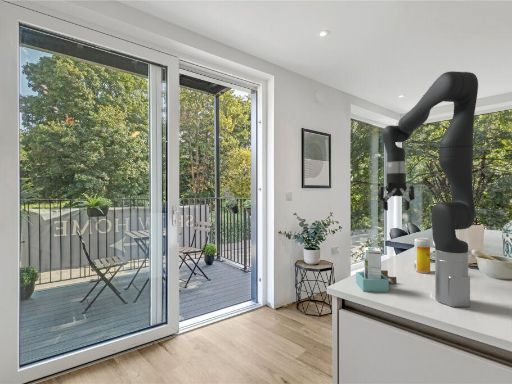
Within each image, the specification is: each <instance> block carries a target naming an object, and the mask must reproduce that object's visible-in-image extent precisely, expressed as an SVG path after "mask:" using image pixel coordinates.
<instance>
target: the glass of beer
mask: <svg viewBox="0 0 512 384" xmlns="http://www.w3.org/2000/svg"><path fill="white" fill-rule="evenodd" d="M414 238H415V239H414V243H413V245H414V251H413V252H414V253H413V254H414V255H413V257H414V259H413V260H414V264H413V265H414V271H415V272H416V273H419V274H426V275H427V274H429V273H430V272H431V241H430V238H429V237H421V236H419V237H418V236H417V237H414Z"/></svg>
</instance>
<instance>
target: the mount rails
mask: <svg viewBox="0 0 512 384" xmlns="http://www.w3.org/2000/svg"><path fill="white" fill-rule="evenodd" d="M388 272H389V270H388V269H386V270H384V269H383V270H382V269H381V274H383V275H384V276H385V277H386V278H388V279H389V284H397V277H396V276H389V273H388Z"/></svg>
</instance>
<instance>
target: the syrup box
mask: <svg viewBox="0 0 512 384" xmlns="http://www.w3.org/2000/svg"><path fill="white" fill-rule="evenodd" d="M363 262H364V270H363V272H364V279H381V270H382V250H381V248H379V247H374V246H373V247H371V246H367V247H364V261H363Z"/></svg>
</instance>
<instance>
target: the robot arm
mask: <svg viewBox="0 0 512 384" xmlns="http://www.w3.org/2000/svg"><path fill="white" fill-rule="evenodd" d="M478 91H479V80H478V77H477V76H476V74H475V73H473V72H470V71H452V70H451V71H446V72H443V73H442V74H440V76H438V78H436V80H434V81H433V83H432V84H431V86H429V88H428V89H427V91H426V92H425V93H424V94H423V95H422V97H421V98H420V99H419V101H418V102H417V103H416V104H415V105H414V107H412V108H411V109H410V110H409V111H408V112H406V113H405V115H403V116H402V117H401V118H400V120H399V121H398V124H397V125H387V126H385V127H384V128H383V130H382V135H381V137H382V141H383V144H384V147H385V152H386V167H385V168H386V169H385V171H386V172H385V173H386V181H385V182H386V184H385V185H386V186H378V193H377V194H378V195H377V196H378V197H377V199H378V200H379V201H382V209H383V210H384V211H385V212H387V211H388V210H389V203H388V201H389V199H390V198H392V197H401V198H402V199H404V201H403V202H404V208H403V209H404V211H409V209H410V205H411V204H410V202H411V201H413V200H415V186H413V185H408V186H407V166H406V150H405V148H403V147H400V146H398V145H397V143H404V142H406V141H408V140H409V139H410V138H411V136H412V135H413V133H414V131H416V130H417V129H418V128H419V127H421V126H422V125H424V124H425V123H426V121H427V120H428V119H429V117H430V112H431V110H432V109H433V108H434V107H435V106H437V105H438V104H440V103H443V102H445V103H447V102H449V103H453V114H452V119H451V121H450V124H449V125H448V126H447V128H446V130H445V131H444V133H443V135H442V137H441V139H440V141H439V145H438V147H439V149H438V162H439V166H440V168H441V170H442V172H443V174H444V176H445V177H446V179H447V180H448V182H449V185H450V189H451V201H444V202H443V201H442V202H438V203H436V204H435V205H434V206H433V208H432V211H431V215H430V216H431V217H430V218H431V219H430V220H431V221H430V222H431V234H432V235H431V236H432V241H433V242H434V280H435V281H434V288H435V290H434V294H435V296H434V297H435V300H436V301H437V302H439V303H440V304H443V305H446V306H448V307H452V308H453V307H455V308H456V307H458V308H459V307H462V308H463V307H464V308H465V307H466V308H469V307H471V278H470V277H469V244H468V242H467V241H464V240H461V239H459V238H458V237H457V234H456V232H457V231H458V230H459V231H461V230H466V229H469V228H471V227H472V226H473V224H474V222H475V217H476V215H475V214H476V211H475V198H474V190H473V189H474V188H473V161H474V160H473V159H474V125H475V114H476V105H477V98H478ZM406 190H407V192H408V194H407V192H406ZM385 191H386V194H385V195H384V192H385ZM388 212H389V211H388ZM456 230H457V231H456Z"/></svg>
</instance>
